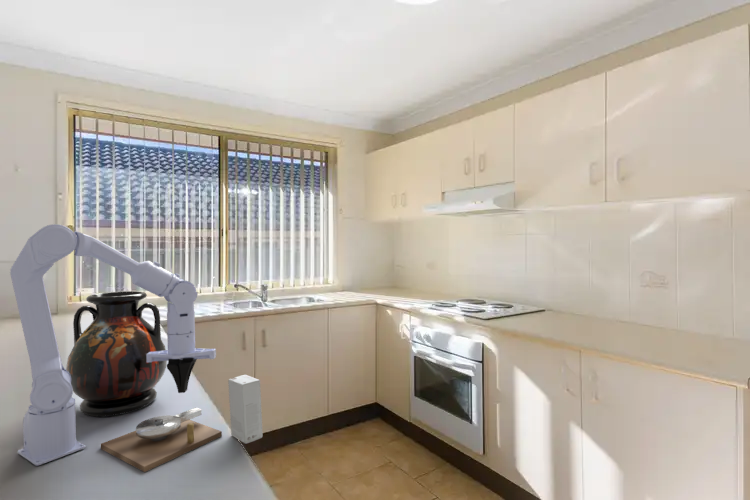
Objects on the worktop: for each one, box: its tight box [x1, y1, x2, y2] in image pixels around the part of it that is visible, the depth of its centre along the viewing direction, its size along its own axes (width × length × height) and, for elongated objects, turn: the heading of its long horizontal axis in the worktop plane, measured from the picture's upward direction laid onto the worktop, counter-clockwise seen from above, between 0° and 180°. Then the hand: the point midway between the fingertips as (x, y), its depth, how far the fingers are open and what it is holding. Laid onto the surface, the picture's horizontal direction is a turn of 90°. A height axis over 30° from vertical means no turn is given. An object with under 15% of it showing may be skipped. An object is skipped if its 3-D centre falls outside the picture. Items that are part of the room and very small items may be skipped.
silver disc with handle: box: [135, 407, 202, 439], centre depth 86 cm, size 13×8×2 cm, turn 147°
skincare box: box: [227, 374, 264, 444], centre depth 86 cm, size 6×4×12 cm
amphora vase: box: [65, 290, 168, 418], centre depth 104 cm, size 22×22×28 cm
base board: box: [100, 419, 223, 473], centre depth 84 cm, size 16×16×4 cm
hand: (182, 391), depth 95 cm, fingers closed
